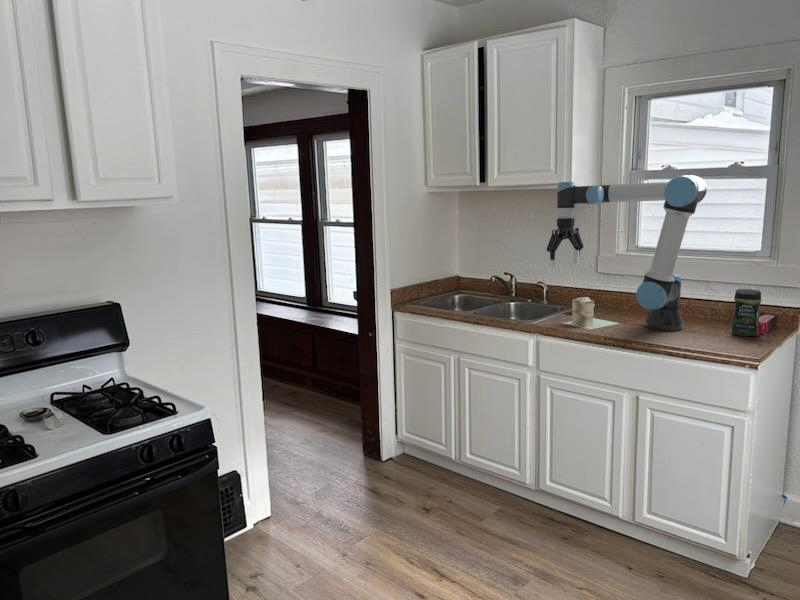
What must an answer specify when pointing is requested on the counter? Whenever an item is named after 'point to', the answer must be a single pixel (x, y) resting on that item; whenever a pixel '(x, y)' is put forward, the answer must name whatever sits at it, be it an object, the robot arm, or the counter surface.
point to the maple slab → (582, 312)
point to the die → (585, 298)
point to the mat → (595, 324)
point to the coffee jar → (746, 312)
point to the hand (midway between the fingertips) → (565, 265)
